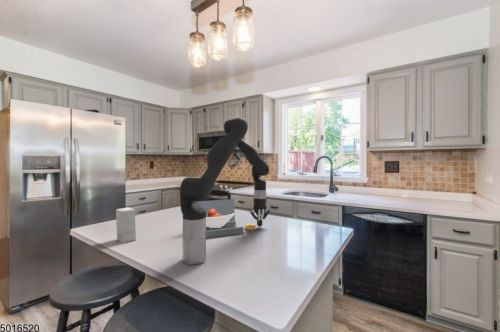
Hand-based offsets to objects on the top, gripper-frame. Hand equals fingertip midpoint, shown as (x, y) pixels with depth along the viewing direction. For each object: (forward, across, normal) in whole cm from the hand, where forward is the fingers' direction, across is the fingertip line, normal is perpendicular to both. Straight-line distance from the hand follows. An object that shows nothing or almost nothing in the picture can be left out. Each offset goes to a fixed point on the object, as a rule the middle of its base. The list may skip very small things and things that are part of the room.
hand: (259, 226), depth 141 cm
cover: (-9, -25, +8) cm, 28 cm away
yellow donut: (+1, -6, 0) cm, 6 cm away
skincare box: (+1, -71, +6) cm, 71 cm away
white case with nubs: (+1, -25, 0) cm, 25 cm away
